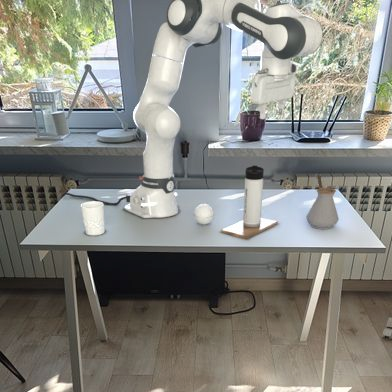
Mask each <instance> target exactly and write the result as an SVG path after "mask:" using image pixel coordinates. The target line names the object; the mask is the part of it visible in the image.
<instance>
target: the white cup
mask: <svg viewBox="0 0 392 392" xmlns="http://www.w3.org/2000/svg"><path fill="white" fill-rule="evenodd" d="M80 210H81V216H82V222H83V226H84V231H85V234H86V235H88V236H99V235H103V234H105V232H106V229H105V223H106V222H105V207H104V203H102V202H98V201H94V200H92V201H85V202H82V203H80Z"/></svg>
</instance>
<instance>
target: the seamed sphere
mask: <svg viewBox="0 0 392 392" xmlns="http://www.w3.org/2000/svg"><path fill="white" fill-rule="evenodd" d="M214 215H215V213H214V209H213V208H212V207H211V206H210V204H208V203H201V204H198V205H197V206H196V207H195V209H194V211H193V218H194V220H195V222H197V223H198V224H200V225H203V226H204V225H208V224H210V223H211V222H212V221H213V219H214Z"/></svg>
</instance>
